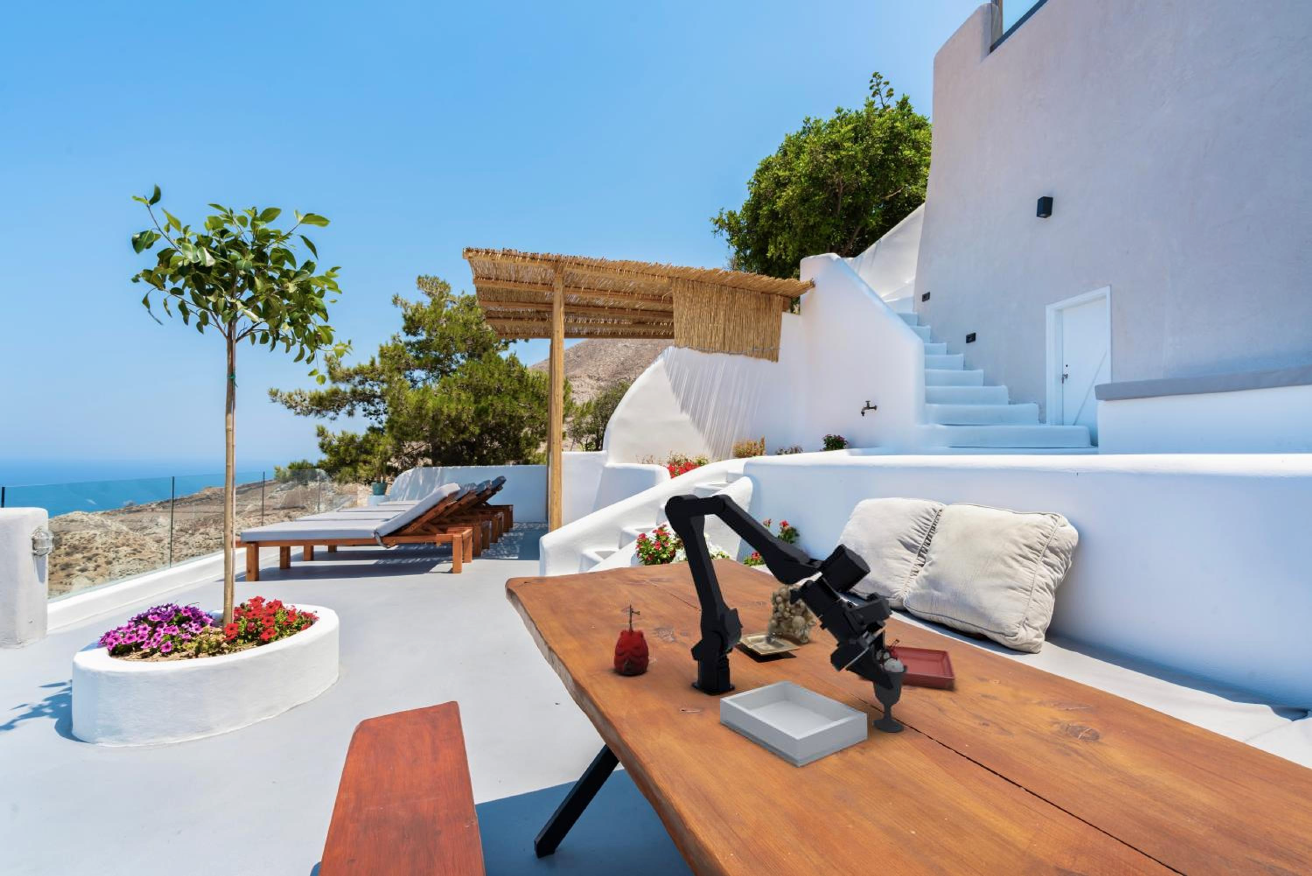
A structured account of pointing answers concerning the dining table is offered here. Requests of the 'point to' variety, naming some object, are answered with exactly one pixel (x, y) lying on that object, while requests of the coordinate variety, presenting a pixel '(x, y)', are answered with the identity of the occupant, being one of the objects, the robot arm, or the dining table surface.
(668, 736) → the dining table surface
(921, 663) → the plant saucer
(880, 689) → the sundae
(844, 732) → the tray
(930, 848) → the dining table surface
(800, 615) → the mineral formation
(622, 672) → the red fruit with stem
